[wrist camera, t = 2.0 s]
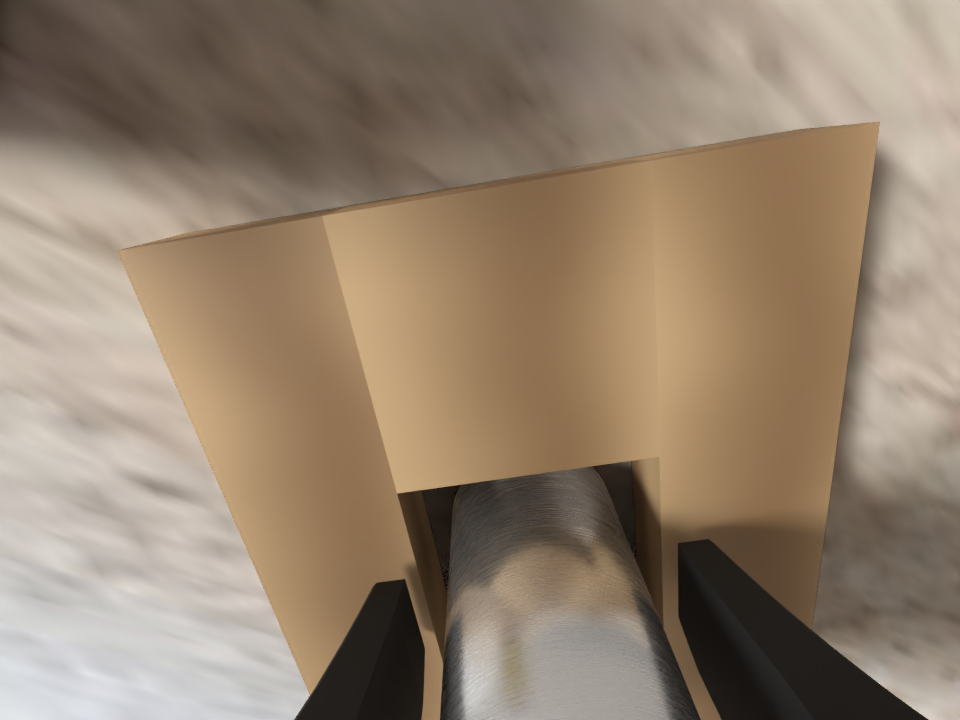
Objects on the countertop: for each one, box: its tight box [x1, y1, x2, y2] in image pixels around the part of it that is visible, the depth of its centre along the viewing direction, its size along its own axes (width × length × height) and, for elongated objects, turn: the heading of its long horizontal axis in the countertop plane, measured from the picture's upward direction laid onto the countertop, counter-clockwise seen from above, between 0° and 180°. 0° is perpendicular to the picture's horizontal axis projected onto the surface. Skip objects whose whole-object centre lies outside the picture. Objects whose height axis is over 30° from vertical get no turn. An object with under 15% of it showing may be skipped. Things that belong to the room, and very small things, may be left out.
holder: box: [118, 122, 880, 720], centre depth 12 cm, size 12×16×2 cm
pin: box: [440, 466, 701, 720], centre depth 9 cm, size 4×4×8 cm
